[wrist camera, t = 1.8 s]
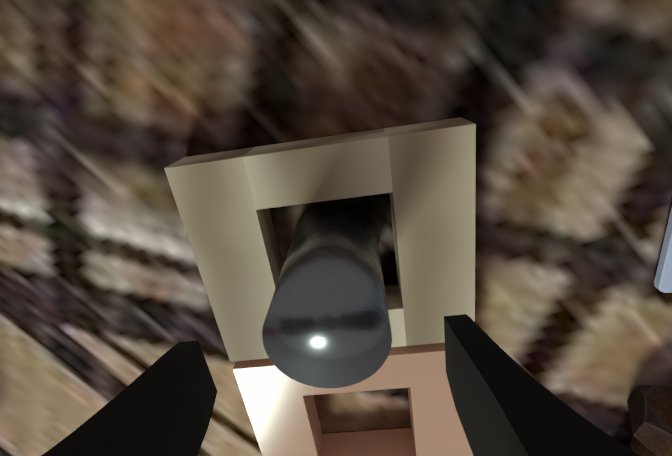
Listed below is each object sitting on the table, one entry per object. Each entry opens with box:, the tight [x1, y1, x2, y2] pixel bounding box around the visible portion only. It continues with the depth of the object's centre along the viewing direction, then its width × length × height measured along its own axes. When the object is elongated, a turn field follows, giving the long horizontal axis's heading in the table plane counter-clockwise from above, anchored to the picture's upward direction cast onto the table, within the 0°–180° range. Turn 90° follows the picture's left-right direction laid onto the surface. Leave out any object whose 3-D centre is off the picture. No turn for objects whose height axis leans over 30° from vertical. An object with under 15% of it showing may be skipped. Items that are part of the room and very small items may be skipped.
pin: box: [262, 202, 392, 388], centre depth 14 cm, size 4×4×7 cm
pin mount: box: [164, 117, 476, 362], centre depth 17 cm, size 12×10×2 cm
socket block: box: [233, 343, 473, 456], centre depth 21 cm, size 12×10×2 cm
